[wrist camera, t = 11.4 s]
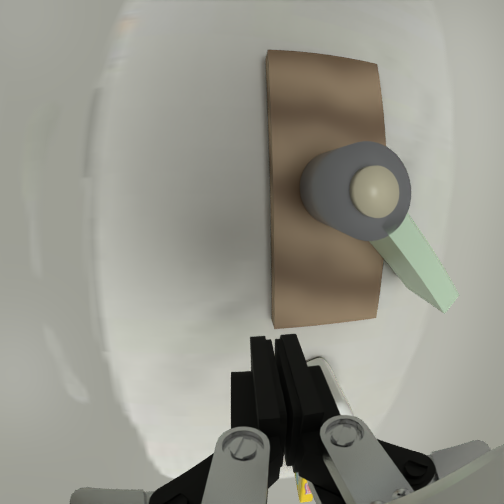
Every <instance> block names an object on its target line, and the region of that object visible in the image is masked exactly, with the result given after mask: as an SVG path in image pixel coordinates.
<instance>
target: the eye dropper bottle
mask: <svg viewBox="0 0 504 504" xmlns="http://www.w3.org/2000/svg"><path fill="white" fill-rule="evenodd" d="M306 363H307V365H308V366H316V365H319V366H320V367H321V369H322V371H323V374H324V376H325V378H326V381H327V383H328V385H329V388H330V390H331V393H332V395H333V397H334V400H335V402H336V405H337V407H338V410H339V412H340V414H341V415H350V416H354V415H353V412H352V409H351V407H350V405H349V403H348V401H347V399H346V397H345V395H344V393H343V391H342V389H341V387H340V385H339V383H338V381H337V379H336V377H335V375H334V373H333V371H332V369H331V367H330V366H329V364H328V363H327V362H326V361H325V360H324V359H323V358H316V359H314V360H311V361H308V362H306Z"/></svg>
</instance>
